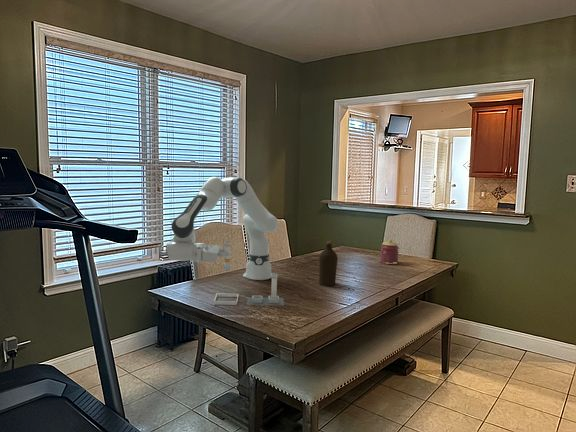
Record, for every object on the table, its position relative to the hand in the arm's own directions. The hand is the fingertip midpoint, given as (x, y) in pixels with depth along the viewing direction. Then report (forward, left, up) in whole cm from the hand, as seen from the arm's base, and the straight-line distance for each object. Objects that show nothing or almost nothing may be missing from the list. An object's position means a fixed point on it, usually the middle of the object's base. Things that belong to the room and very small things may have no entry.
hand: (229, 253), depth 212 cm
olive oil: (-38, +54, -25) cm, 71 cm away
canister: (-100, +108, -25) cm, 149 cm away
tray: (0, -1, -24) cm, 25 cm away
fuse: (0, +22, -23) cm, 32 cm away
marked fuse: (0, -1, -8) cm, 9 cm away
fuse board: (0, +18, -24) cm, 31 cm away
